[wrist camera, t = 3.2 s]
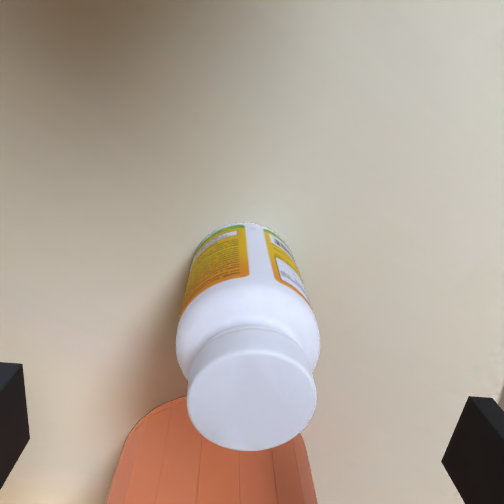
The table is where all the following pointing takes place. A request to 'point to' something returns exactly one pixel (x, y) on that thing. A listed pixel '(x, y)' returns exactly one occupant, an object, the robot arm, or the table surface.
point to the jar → (204, 467)
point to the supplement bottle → (247, 340)
